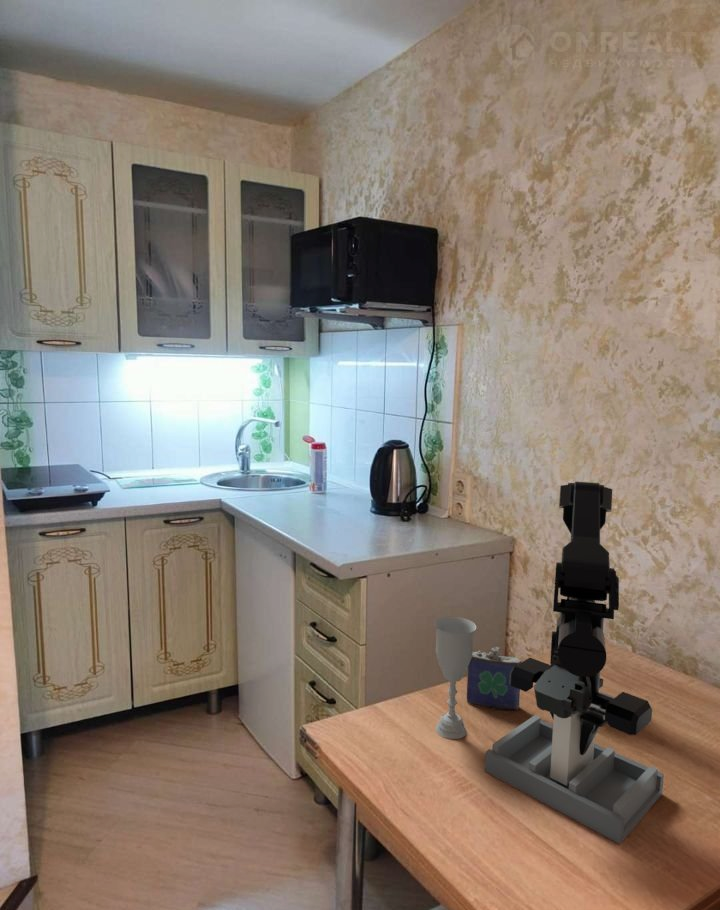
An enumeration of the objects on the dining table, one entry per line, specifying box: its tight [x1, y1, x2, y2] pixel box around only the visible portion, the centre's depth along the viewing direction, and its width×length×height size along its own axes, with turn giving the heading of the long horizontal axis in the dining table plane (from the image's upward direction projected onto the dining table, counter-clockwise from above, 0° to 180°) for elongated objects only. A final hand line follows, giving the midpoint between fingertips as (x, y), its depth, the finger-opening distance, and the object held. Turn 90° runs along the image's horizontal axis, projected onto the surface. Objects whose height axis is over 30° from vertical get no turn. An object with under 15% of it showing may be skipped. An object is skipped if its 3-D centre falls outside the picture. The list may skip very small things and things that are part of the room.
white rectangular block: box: [550, 709, 596, 786], centre depth 88 cm, size 2×8×10 cm, turn 134°
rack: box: [484, 714, 665, 845], centre depth 89 cm, size 20×14×4 cm
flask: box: [466, 646, 522, 712], centre depth 110 cm, size 9×3×11 cm, turn 74°
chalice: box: [433, 616, 477, 740], centre depth 101 cm, size 7×7×18 cm
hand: (573, 749), depth 89 cm, fingers closed on white rectangular block, 2 cm apart
